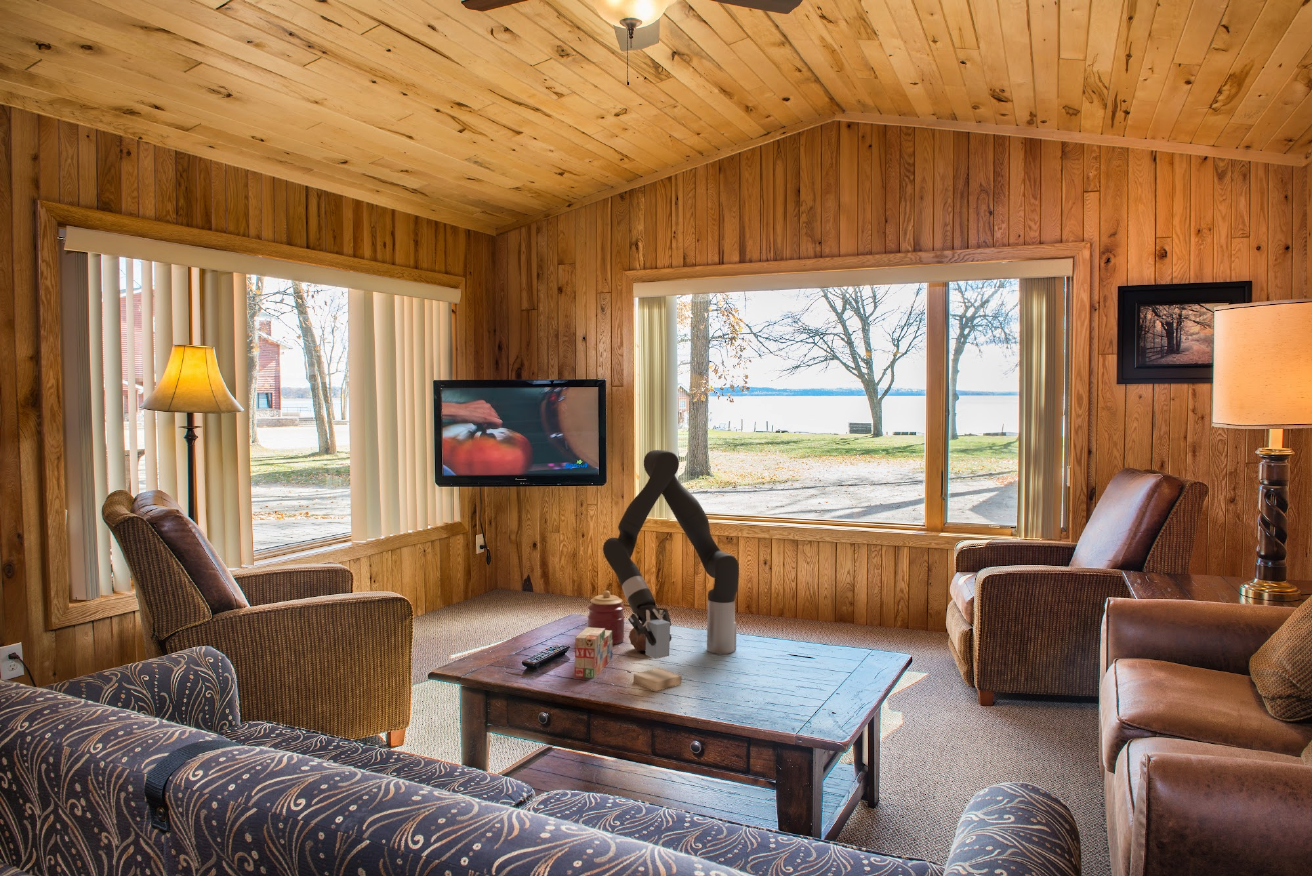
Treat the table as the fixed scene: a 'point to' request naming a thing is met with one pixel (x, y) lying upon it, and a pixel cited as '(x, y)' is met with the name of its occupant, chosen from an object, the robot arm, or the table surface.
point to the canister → (607, 615)
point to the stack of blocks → (592, 651)
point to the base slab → (657, 679)
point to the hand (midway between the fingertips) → (661, 642)
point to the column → (659, 639)
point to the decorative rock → (637, 640)
